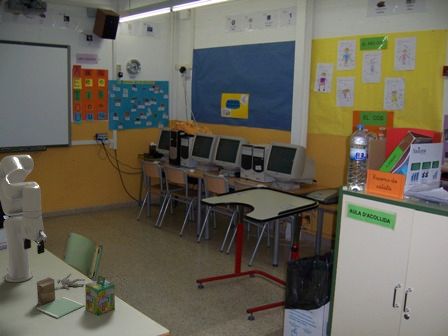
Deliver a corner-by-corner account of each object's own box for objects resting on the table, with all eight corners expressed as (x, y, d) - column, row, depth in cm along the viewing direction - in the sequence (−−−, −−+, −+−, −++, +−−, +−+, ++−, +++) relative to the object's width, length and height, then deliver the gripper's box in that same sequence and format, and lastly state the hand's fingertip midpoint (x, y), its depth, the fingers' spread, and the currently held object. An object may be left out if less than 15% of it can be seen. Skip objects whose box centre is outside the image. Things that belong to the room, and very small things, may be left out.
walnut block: (37, 303, 208) (36, 281, 206) (49, 298, 213) (48, 277, 211) (43, 305, 206) (42, 284, 204) (55, 300, 211) (54, 279, 209)
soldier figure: (82, 290, 224) (57, 285, 220) (80, 294, 228) (55, 289, 224) (85, 275, 229) (60, 270, 225) (83, 278, 232) (58, 274, 228)
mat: (36, 309, 202) (36, 308, 202) (63, 297, 214) (63, 296, 214) (57, 318, 195) (57, 317, 195) (84, 305, 206) (84, 304, 206)
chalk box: (85, 309, 203) (84, 277, 201) (102, 302, 210) (102, 270, 208) (98, 316, 197) (97, 283, 195) (115, 308, 204) (115, 276, 202)
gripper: (12, 212, 208) (14, 249, 211) (37, 218, 199) (39, 257, 202) (27, 208, 215) (29, 244, 218) (52, 214, 205) (54, 252, 208)
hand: (34, 250), depth 210 cm, fingers open, 9 cm apart
